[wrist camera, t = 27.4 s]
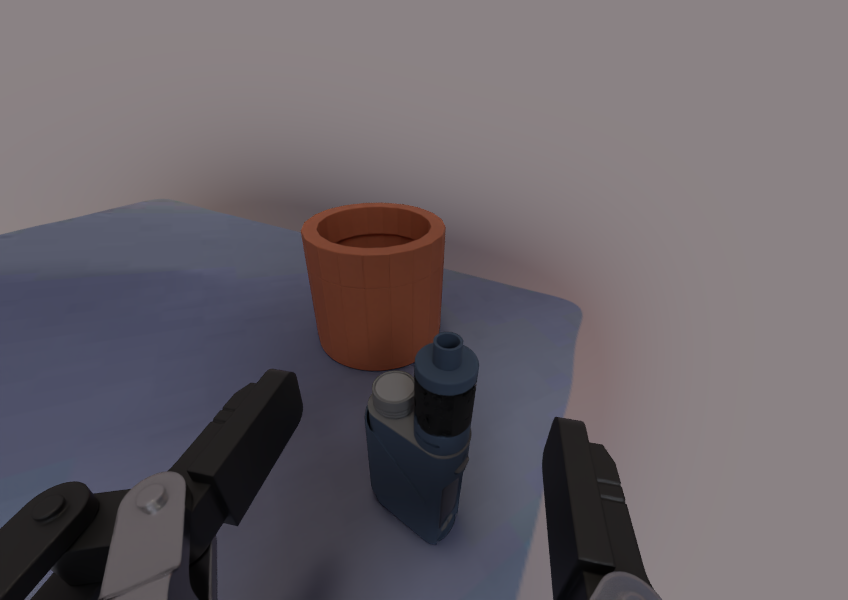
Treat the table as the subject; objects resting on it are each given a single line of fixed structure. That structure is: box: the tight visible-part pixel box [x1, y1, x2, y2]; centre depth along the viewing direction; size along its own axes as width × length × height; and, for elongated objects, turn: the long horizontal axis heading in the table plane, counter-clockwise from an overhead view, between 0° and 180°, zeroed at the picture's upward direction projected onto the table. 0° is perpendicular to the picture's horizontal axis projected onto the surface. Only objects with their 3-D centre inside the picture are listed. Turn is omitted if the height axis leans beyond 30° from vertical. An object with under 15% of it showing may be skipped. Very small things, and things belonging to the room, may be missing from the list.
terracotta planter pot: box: [301, 203, 445, 371], centre depth 30 cm, size 11×11×10 cm
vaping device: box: [365, 332, 479, 544], centre depth 17 cm, size 3×5×12 cm, turn 53°
